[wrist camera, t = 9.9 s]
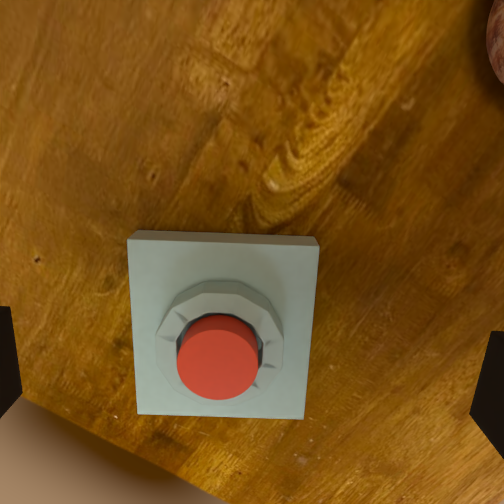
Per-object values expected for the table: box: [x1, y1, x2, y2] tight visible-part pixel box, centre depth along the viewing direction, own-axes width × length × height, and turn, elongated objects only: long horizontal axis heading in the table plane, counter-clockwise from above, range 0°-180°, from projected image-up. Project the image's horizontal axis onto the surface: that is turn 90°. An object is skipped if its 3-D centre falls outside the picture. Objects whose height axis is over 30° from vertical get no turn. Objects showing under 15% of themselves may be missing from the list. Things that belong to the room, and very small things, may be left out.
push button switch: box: [127, 230, 320, 419], centre depth 24 cm, size 12×11×4 cm
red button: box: [177, 315, 258, 400], centre depth 22 cm, size 4×4×2 cm
